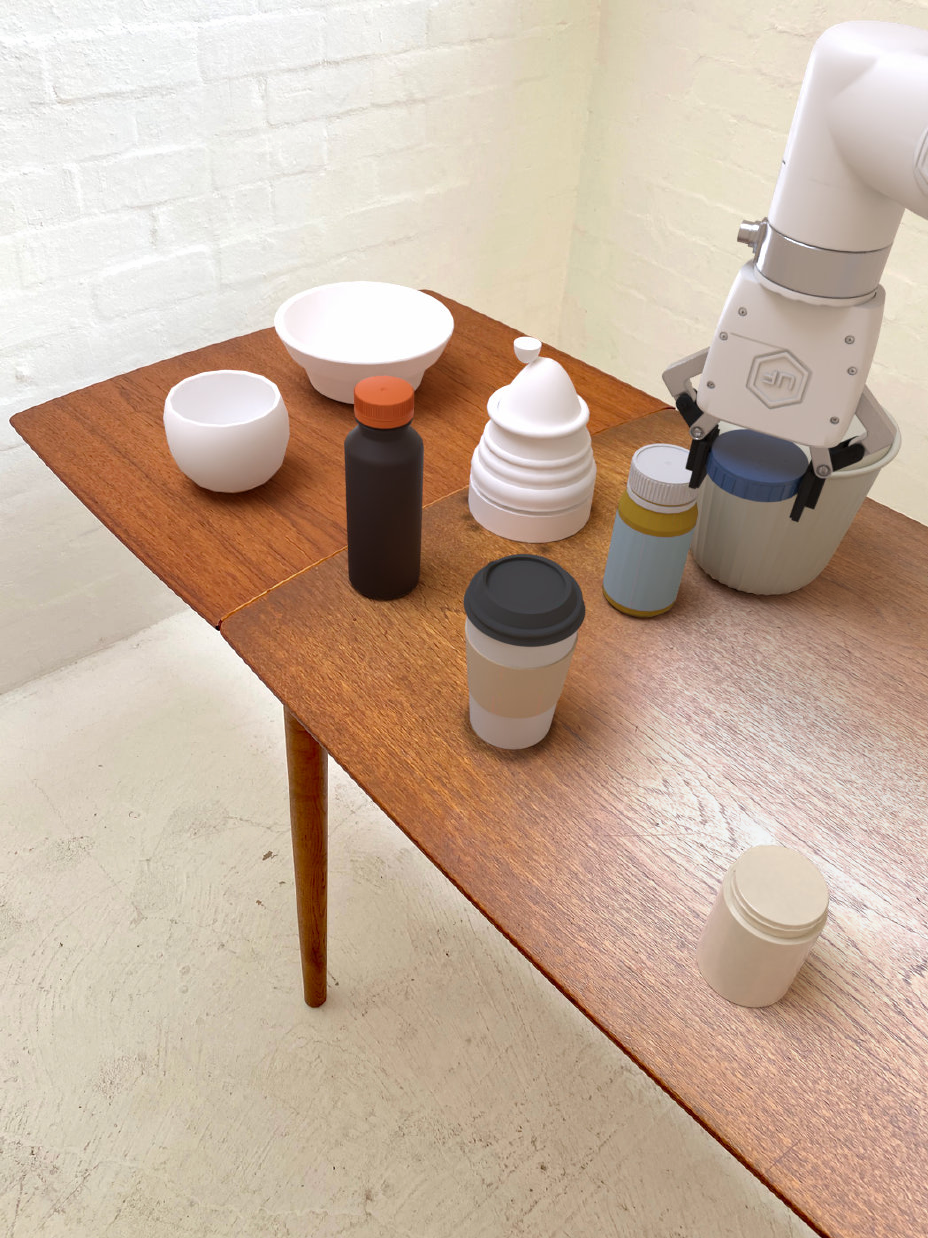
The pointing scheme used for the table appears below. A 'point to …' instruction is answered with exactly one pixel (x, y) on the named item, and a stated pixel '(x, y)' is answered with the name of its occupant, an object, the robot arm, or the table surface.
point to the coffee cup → (519, 646)
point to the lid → (756, 465)
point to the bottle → (651, 532)
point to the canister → (781, 526)
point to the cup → (227, 429)
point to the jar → (762, 925)
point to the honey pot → (534, 455)
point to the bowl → (363, 334)
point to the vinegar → (384, 489)
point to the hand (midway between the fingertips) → (747, 493)
